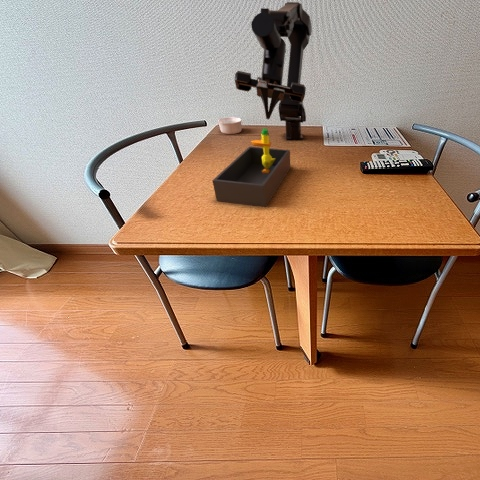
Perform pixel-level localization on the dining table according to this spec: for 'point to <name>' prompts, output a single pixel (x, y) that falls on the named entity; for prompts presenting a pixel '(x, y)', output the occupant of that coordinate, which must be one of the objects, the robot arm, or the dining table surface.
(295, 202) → the dining table surface
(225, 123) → the ramekin
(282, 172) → the bin
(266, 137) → the toy figure
